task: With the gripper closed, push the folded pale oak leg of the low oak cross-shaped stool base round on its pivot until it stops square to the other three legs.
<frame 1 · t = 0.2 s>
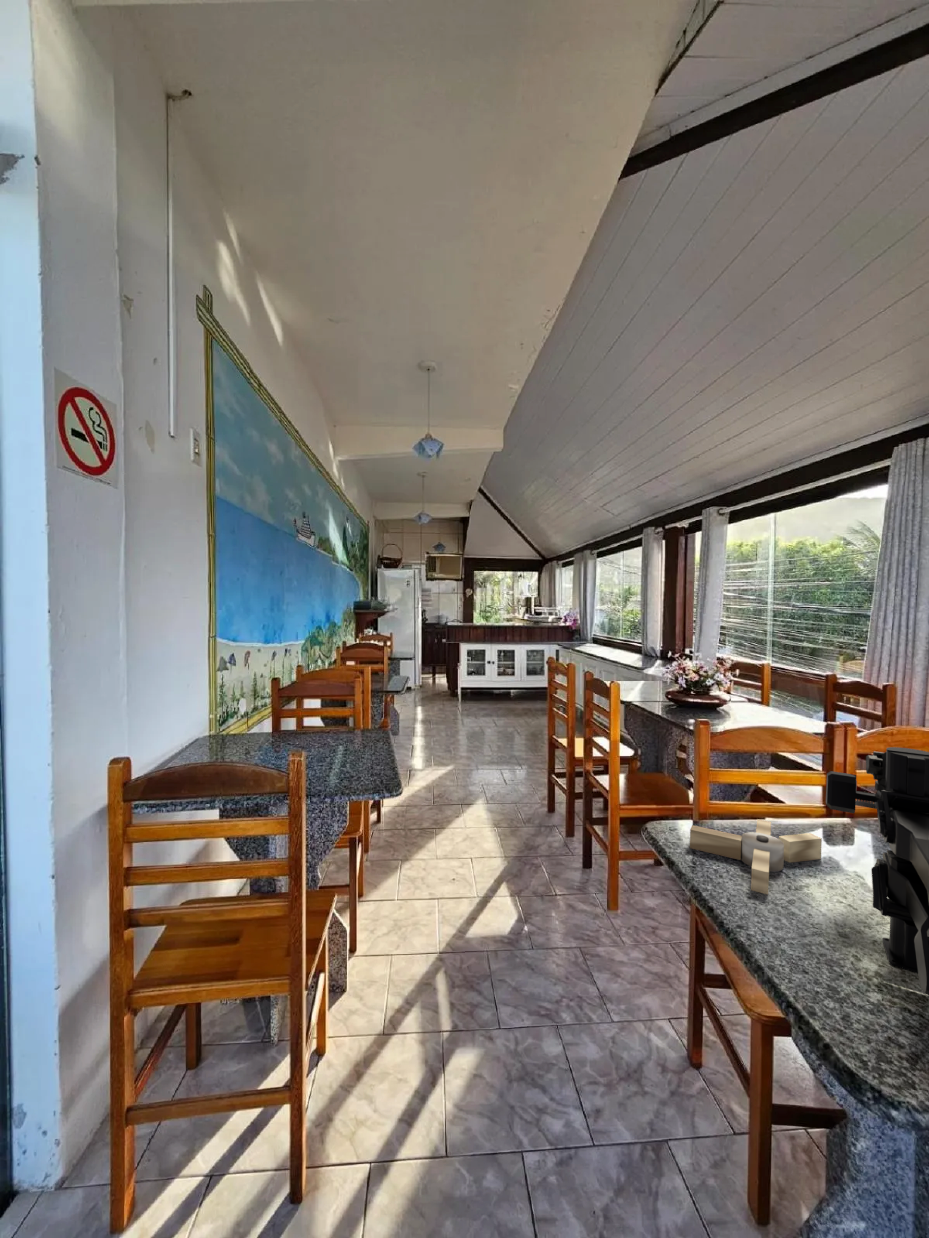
hand: (886, 787, 93), 17 cm above the table, tool horizontal, fingers open, 9 cm apart
folding leg: (799, 847, 101), point 2 cm above the table, hinge at 45.0°
stool base: (761, 863, 99), on the table
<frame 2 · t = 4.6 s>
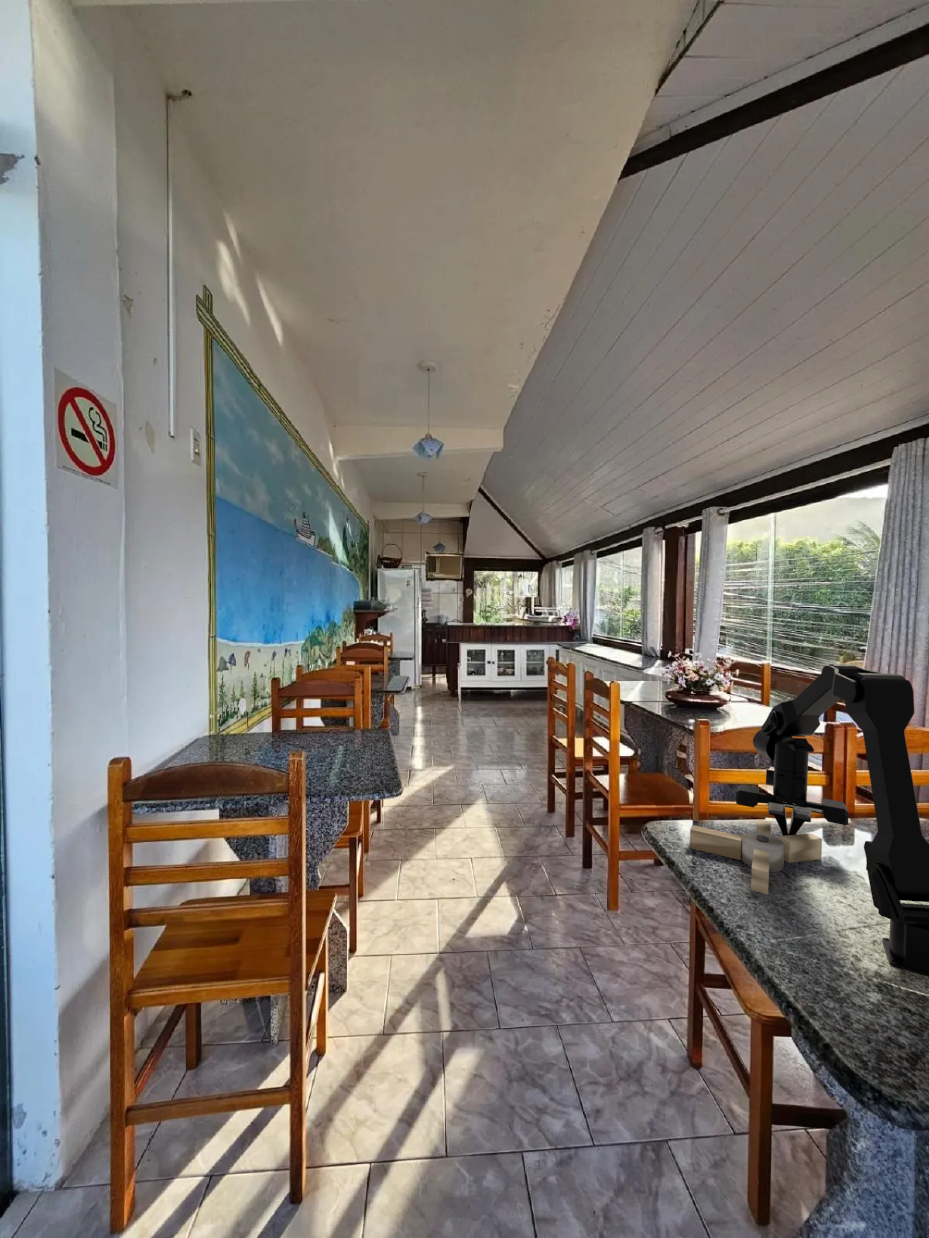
hand: (787, 845, 104), 1 cm above the table, tool pointing down, fingers closed
folding leg: (800, 847, 100), point 2 cm above the table, hinge at 44.6°, touching gripper
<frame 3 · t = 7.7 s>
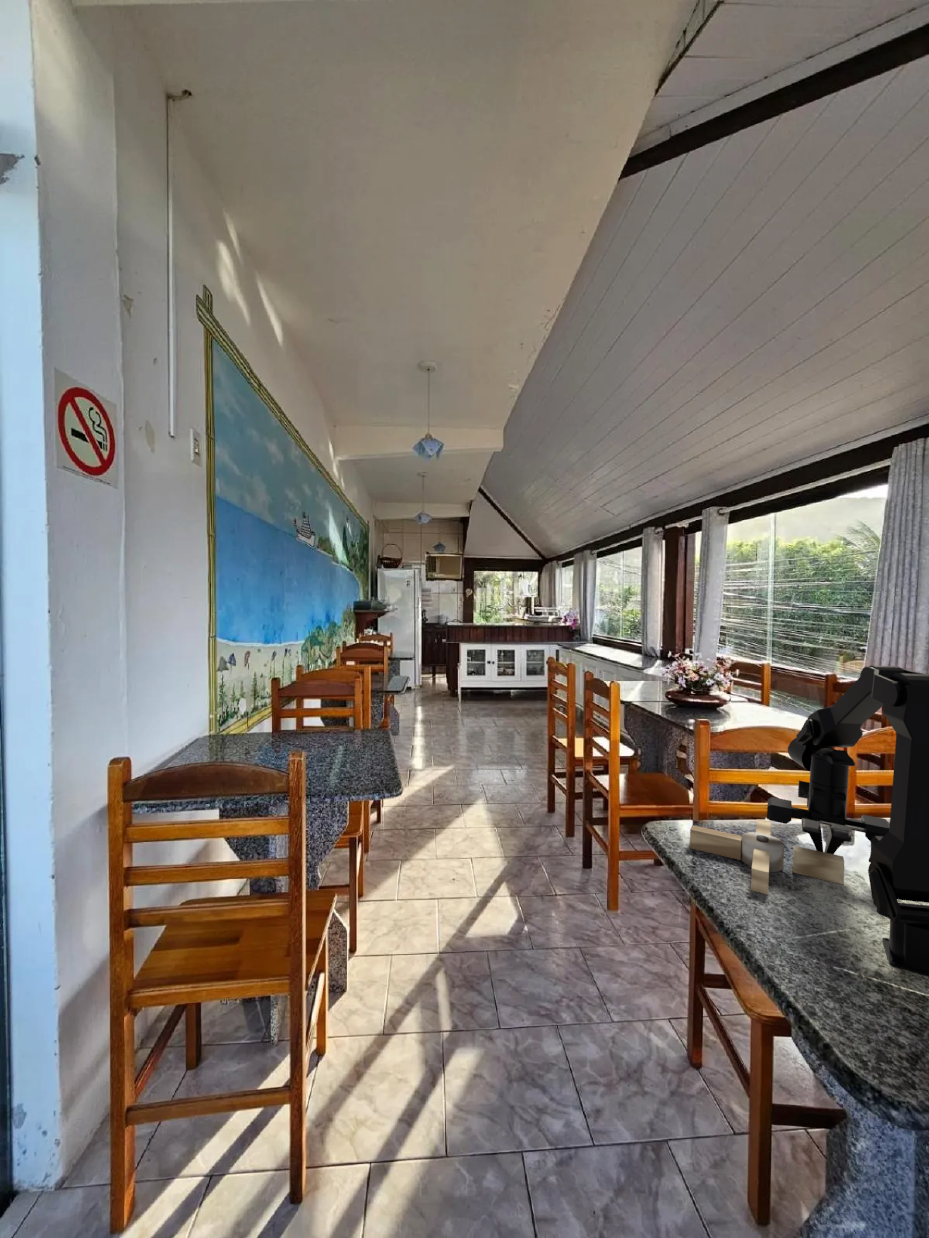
hand: (823, 864, 96), 1 cm above the table, tool pointing down, fingers closed, pressing on folding leg
folding leg: (817, 864, 94), point 2 cm above the table, hinge at -0.9°, touching gripper
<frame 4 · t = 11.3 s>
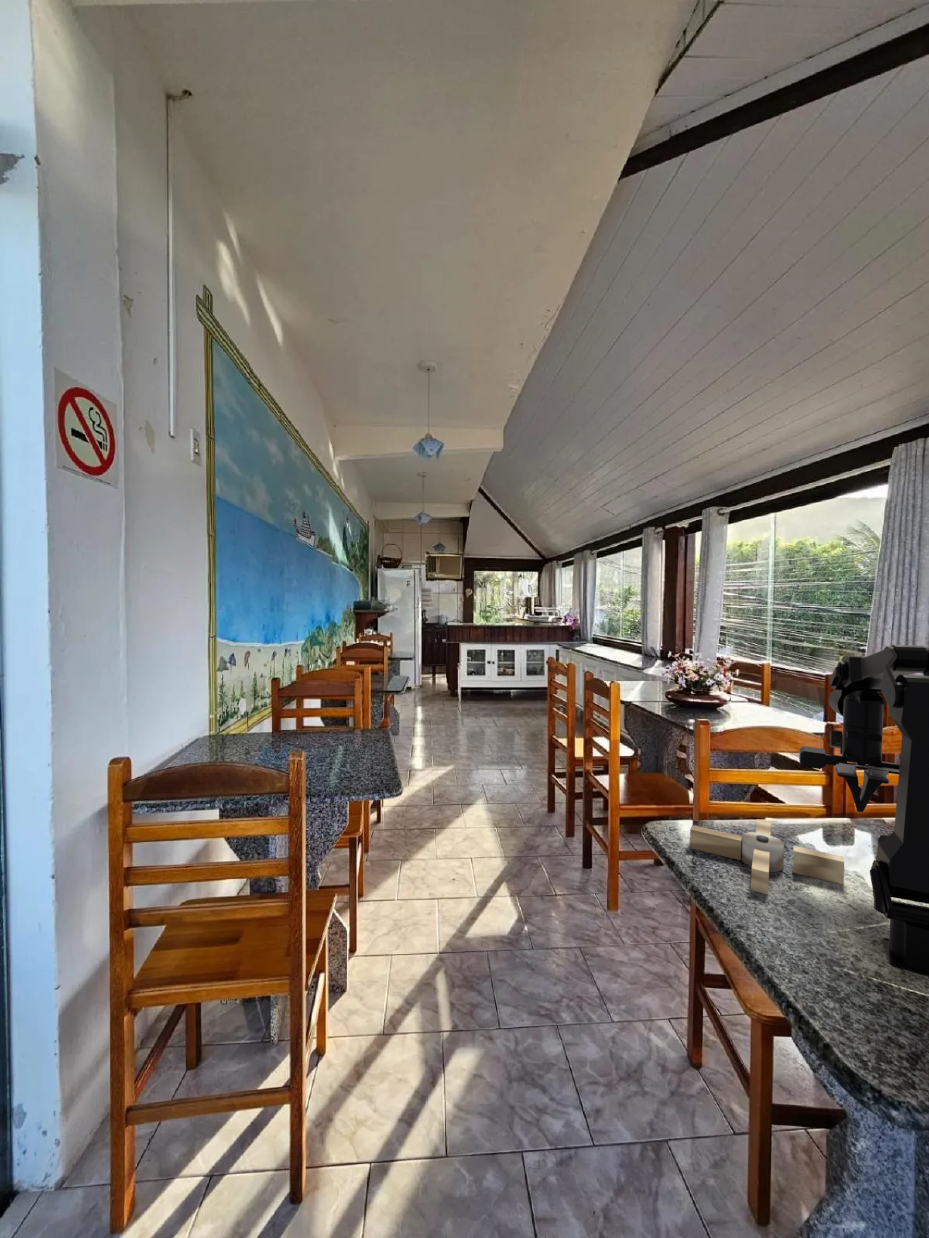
hand: (859, 811, 94), 12 cm above the table, tool pointing down, fingers closed
folding leg: (817, 864, 94), point 2 cm above the table, hinge at -1.1°
at the end: folding leg at -1° (first picture: +45°); the gripper is holding nothing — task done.
